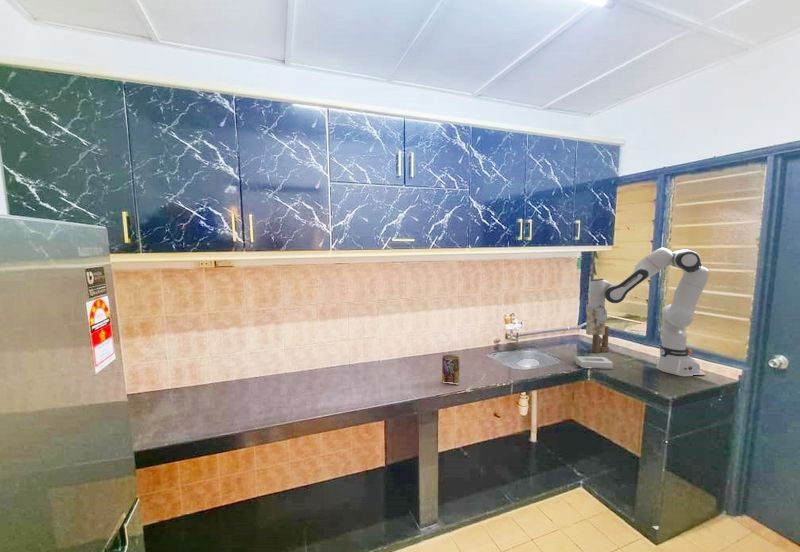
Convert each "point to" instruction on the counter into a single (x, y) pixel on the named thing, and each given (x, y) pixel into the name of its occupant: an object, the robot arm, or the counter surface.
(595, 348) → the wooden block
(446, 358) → the candy box
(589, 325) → the mottled tan box
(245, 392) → the counter surface
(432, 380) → the counter surface
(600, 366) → the end cap
